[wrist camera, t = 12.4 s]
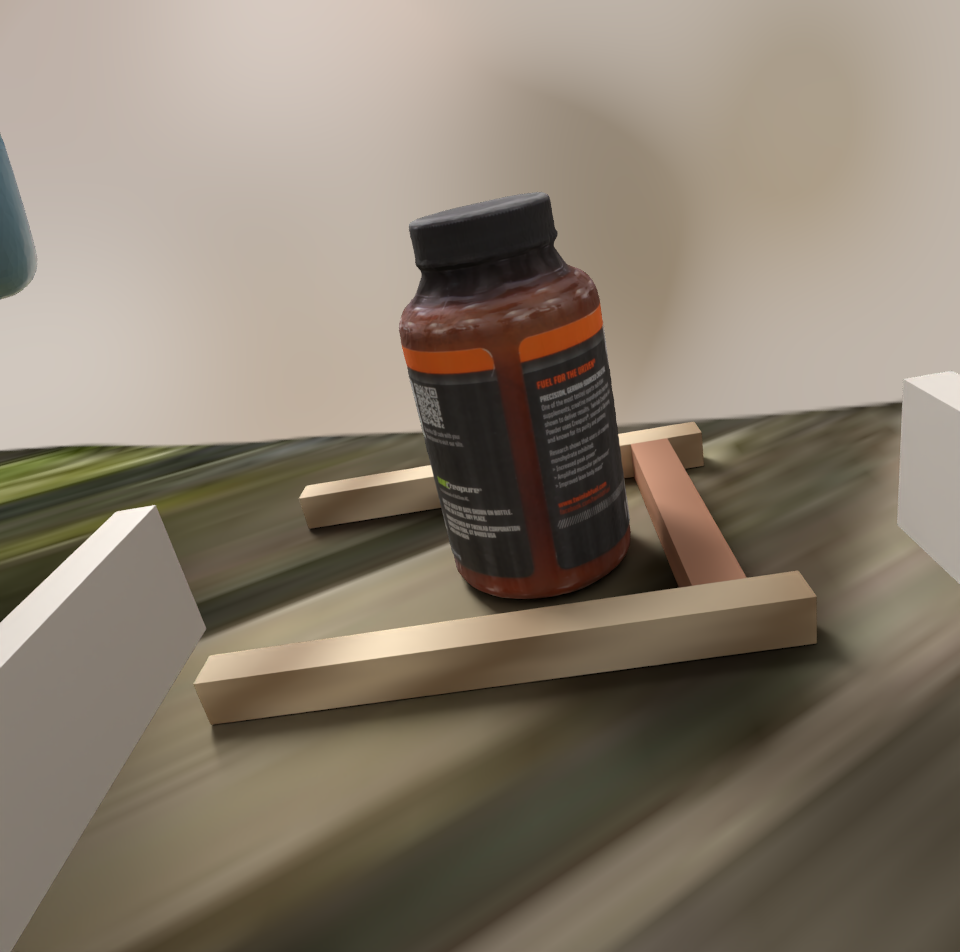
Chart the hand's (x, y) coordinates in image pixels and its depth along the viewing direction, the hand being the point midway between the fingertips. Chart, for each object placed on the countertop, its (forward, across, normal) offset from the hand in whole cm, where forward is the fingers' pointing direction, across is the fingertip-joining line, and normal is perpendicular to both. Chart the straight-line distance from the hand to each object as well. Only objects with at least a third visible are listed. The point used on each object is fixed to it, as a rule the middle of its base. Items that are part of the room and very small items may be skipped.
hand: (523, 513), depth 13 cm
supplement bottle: (+10, 0, -7) cm, 12 cm away
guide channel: (+10, -2, -7) cm, 12 cm away
